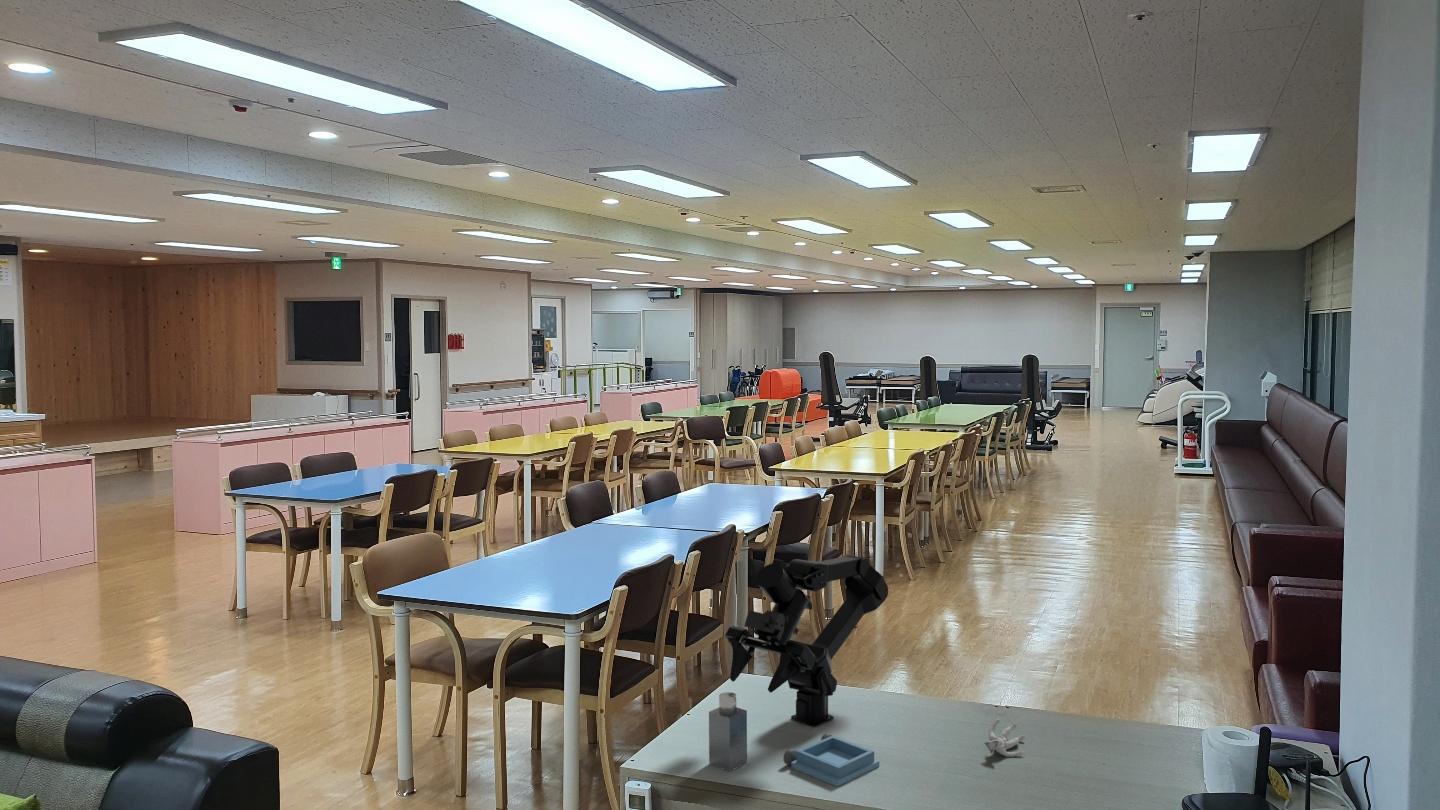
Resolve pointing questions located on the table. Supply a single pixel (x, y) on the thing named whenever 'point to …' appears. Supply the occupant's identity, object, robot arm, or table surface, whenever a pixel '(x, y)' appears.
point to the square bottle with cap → (727, 733)
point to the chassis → (832, 760)
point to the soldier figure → (1003, 740)
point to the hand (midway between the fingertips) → (750, 685)
